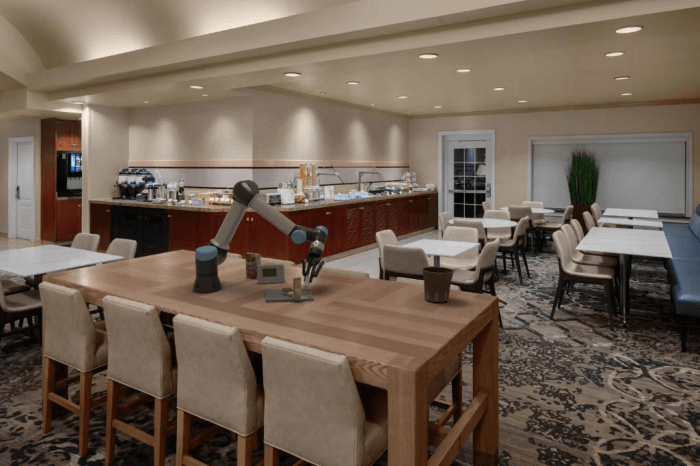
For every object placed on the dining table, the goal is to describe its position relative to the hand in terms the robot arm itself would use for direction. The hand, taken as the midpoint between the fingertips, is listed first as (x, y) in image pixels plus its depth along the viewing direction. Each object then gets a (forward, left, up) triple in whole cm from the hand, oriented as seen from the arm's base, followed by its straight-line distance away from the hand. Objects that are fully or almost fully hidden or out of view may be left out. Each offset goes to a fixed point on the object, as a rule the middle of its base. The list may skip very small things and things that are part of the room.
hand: (306, 287), depth 260 cm
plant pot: (+66, -17, -5) cm, 68 cm away
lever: (-8, -4, -3) cm, 9 cm away
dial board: (-9, -1, -5) cm, 10 cm away
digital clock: (-18, +33, -5) cm, 38 cm away
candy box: (-29, +46, -5) cm, 55 cm away
